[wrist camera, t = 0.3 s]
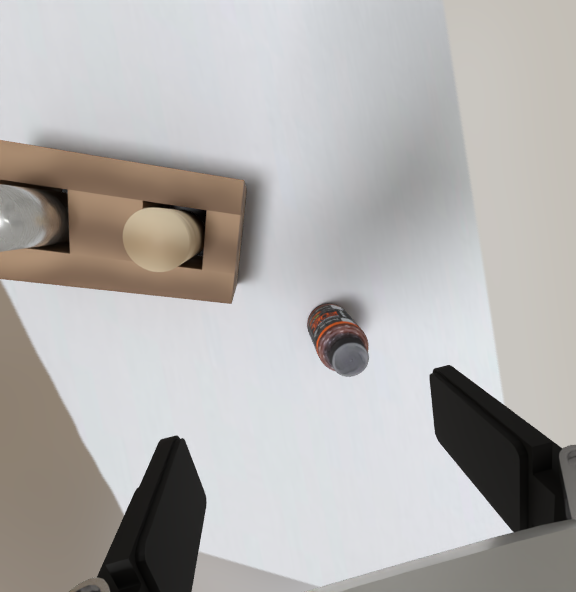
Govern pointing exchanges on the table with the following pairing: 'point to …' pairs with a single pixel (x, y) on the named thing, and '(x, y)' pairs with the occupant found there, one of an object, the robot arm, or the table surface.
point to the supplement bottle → (338, 340)
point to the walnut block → (112, 218)
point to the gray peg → (32, 217)
